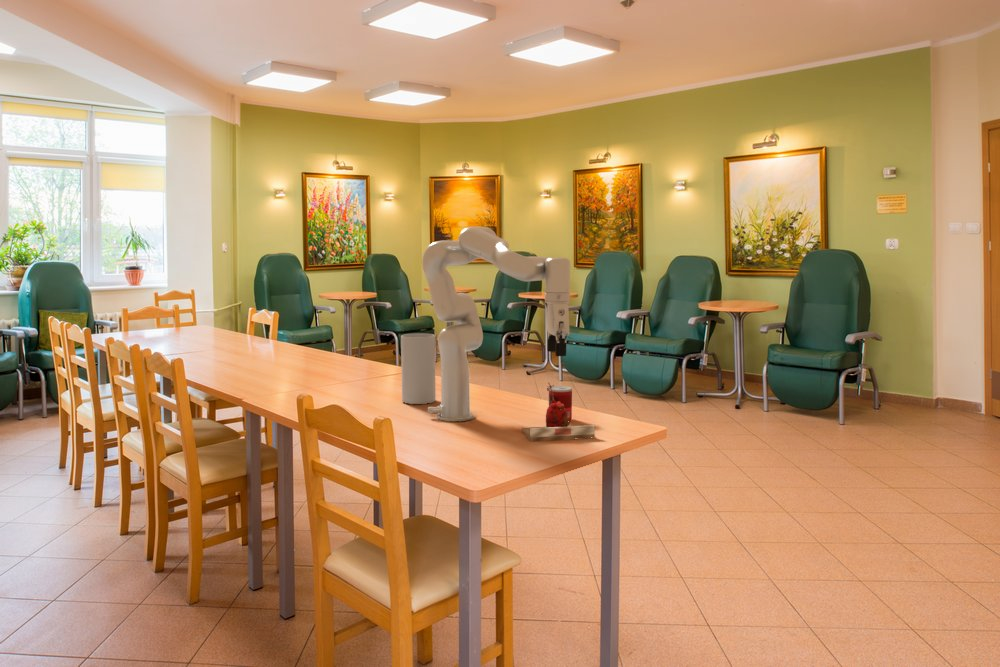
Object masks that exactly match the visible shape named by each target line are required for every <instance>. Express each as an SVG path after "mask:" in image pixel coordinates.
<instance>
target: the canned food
mask: <svg viewBox="0 0 1000 667" xmlns="http://www.w3.org/2000/svg"><path fill="white" fill-rule="evenodd" d="M551 386H552V388H551V389H552V393H553V394H554V395H553V398H554V400H555V401H556V402H559V401H560V402H561V403H562V404H563V405H564V408H565V410H566V411H567V415H568V421H569V422H571V421H572V417H573V414H572V412H573V410H572V409H573V387H571V386H567V385H554V386H553V385H551ZM551 389H550V390H549V391H548V407H549V406H550V404H551V402H552V401H553V399H552V396H551V395H552V393H551ZM570 420H571V421H570Z"/></svg>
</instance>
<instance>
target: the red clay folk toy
mask: <svg viewBox="0 0 1000 667" xmlns="http://www.w3.org/2000/svg"><path fill="white" fill-rule="evenodd" d="M548 385H549V387H547V388H546V391H547V392H549V390H550V389H551V388H552V386H555V384H553V385H551V383H550V382H548ZM551 393H552V389H551ZM553 395H554V394H553V393H552V395H551V396H552V399H553V401H552V402H551V404H550V406H549V405H548V407H547V409H546V414H545V427H547V428H548V427H567V426H569V424H570V423H569V422H570V421H569V422H568V415H567V411H566V410H565V408H564V405H563V404H562V403H561V402H560V401H559V402H556V401H555V400H554V398H553Z"/></svg>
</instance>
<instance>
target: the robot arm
mask: <svg viewBox="0 0 1000 667" xmlns="http://www.w3.org/2000/svg"><path fill="white" fill-rule="evenodd" d="M477 259H482V260H484V261H485V262H488V263H491V264H492V265H494V267H496V268H497V270H499V271H500V272H501V273H503V274H505V275H507V276H509V277H511V278H513V279H515V280H519V281H522V282H537V281H538V282H539V281H544V303H545V304H547V308H546V331H547V342H546V343H547V347H546V348H547V349H546V350H547V352H551V353H552V352H555V357H566V356H567V337H568V336H569V335H570V312H569V304H570V299H571V298H570V295H571V294H570V292H571V291H570V289H571V287H570V286H571V261H570V259H569V258H567V257H561V256H560V257H554V256H553V257H547V256H540V255H539V256H537V255H534V256H530V255H529V256H525V255H523V254H520V253H518V252H515V251H514V250H511V249H510V245H509V243H508V241H507V240H506V239H504V238H503V237H502V238H501V237H500V236H497V234H496V232H495V231H494V230H493V229H491V227H487V226H468V227H465V228H463V229H462V230H461V231H460V233H459V235H458V239H457V240H448V239H445V240H437V241H434V242H432V243H430V244H429V245H428V246H427V247H426V248H425V250H424V252H423V254H422V260H421V264H422V269H423V270H422V271H423V273H424V276H425V279H426V281H427V285H428V289H429V293H430V297H431V302H432V306H433V311H434V313H435V315H436V318H437V320H438V321H440V322H443V323H452V322H455V323H456V324H454V325H449V326H446V327H443V329H441V331H440V332H439V334H438V336H437V346H438V350H439V351H438V352H439V355H440V356H439V357H440V373H441V374H440V376H441V377H440V378H441V382H440V384H441V385H440V386H441V388H440V389H441V394H440V395H441V403H439V405H437V406H428V407H427V413H432V414H436V418H437V420H439V419H440V421H442V420H445V421H444V422H450V421H459V422H467V421H470V420H473V419H474V418H475V413H474V412H472V411H470V364H469V359H468V357H467V354H466V352H471V351H475V350H478V349H479V347H481V346H482V345H483V339H484V332H483V329H482V324H481V321H480V316H479V313H478V312H479V311H478V308H477V305H476V303H475V301H474V299H473V298H472V296H471V295H469V294H467V293H466V292H457V290H456V287H455V282H454V279H453V277H452V275H451V273H450V272H449V271H448V268H447V267H452V266H453V267H455V266H456V267H457V266H464V265H467V264H469V263H472V262H474V261H476V260H477Z"/></svg>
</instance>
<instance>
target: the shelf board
mask: <svg viewBox="0 0 1000 667" xmlns="http://www.w3.org/2000/svg"><path fill="white" fill-rule="evenodd" d="M595 427H596V426H595V425H594V424H591V425H584V424H576V425H574V424H572V425H568V426H567V427H548V428H547V427H546V426H533V427H531V426H530V427H521V432H522V433H523V435H524V436H525V435H526V436H525V437H526V438H527V439H528V440H529V441H530V442H541V441H542V442H543V441H548V442H549V441H563V440H564V441H565V439H567V440H576V439H575V438H585V439H592V438H591V437H595V436H596V434H595V433H596V432H595V430H596V429H595Z"/></svg>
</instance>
